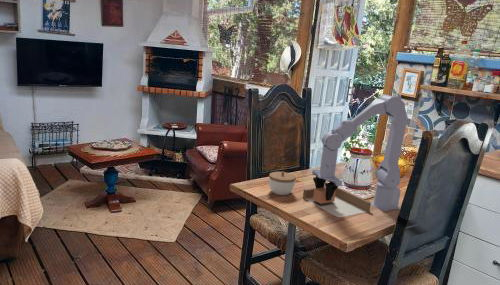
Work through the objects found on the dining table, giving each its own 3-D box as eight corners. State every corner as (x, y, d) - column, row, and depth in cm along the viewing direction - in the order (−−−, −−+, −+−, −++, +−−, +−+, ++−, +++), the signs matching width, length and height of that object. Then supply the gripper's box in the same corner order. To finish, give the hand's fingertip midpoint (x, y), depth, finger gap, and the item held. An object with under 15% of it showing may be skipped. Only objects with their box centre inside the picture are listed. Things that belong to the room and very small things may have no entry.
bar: (320, 203, 142) (321, 192, 141) (312, 199, 146) (314, 188, 145) (334, 201, 146) (335, 190, 145) (326, 197, 149) (327, 186, 148)
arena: (332, 194, 158) (333, 185, 157) (369, 212, 141) (370, 202, 140) (302, 199, 149) (303, 189, 148) (338, 219, 133) (339, 208, 132)
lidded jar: (262, 192, 153) (264, 170, 151) (279, 187, 161) (281, 166, 159) (282, 200, 146) (284, 177, 144) (299, 195, 153) (301, 173, 151)
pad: (325, 198, 150) (326, 198, 150) (335, 203, 146) (335, 203, 146) (310, 201, 146) (310, 201, 146) (320, 206, 141) (320, 206, 141)
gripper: (307, 159, 146) (303, 192, 149) (334, 170, 134) (329, 206, 137) (321, 158, 150) (317, 190, 153) (348, 169, 138) (343, 203, 141)
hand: (323, 197), depth 145 cm, fingers closed on bar, 4 cm apart
